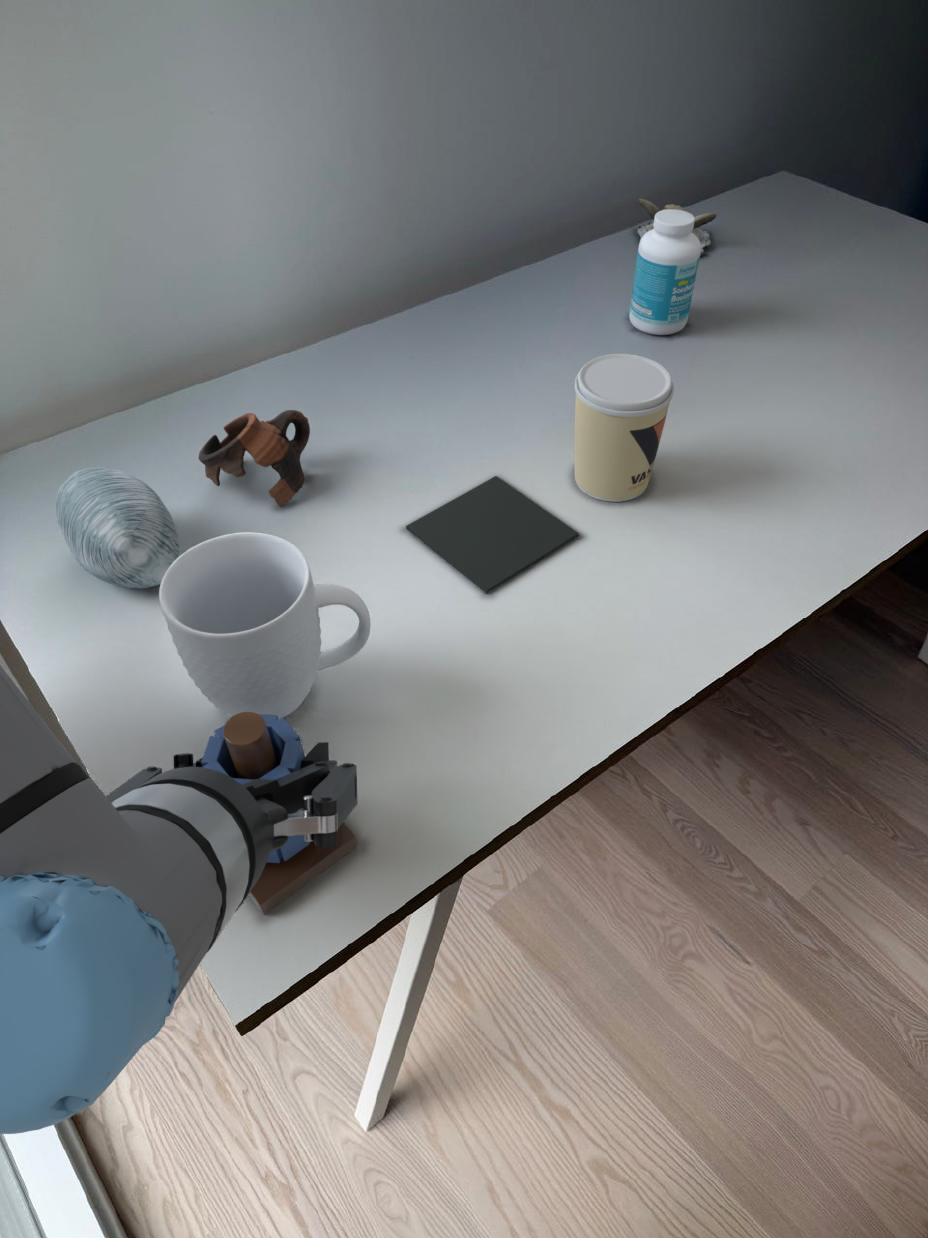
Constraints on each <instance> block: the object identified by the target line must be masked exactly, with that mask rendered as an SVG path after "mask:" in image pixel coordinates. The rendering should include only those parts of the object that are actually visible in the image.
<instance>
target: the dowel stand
mask: <svg viewBox="0 0 928 1238" xmlns="http://www.w3.org/2000/svg"><path fill="white" fill-rule="evenodd" d="M224 725H225V726H224ZM224 725H223V726H224V729H223V735H224V738H225V741H226V744H227V747H228V749H229V752H230V755H231V758H232V760H233V763H234V766H235V769H236V772H237V774H238V777H239V779H253V780H255V779H259V778H261V777H262V776H264V775H266V774H267V773H269V772H270V771H272V770H273V769H275V768H276V767H278V763H277V760H276V757H275V753H274V750H273V746H272V743H271V740H270V736H269V733H268V729H267V726H266V723H265V720H264V718H263V717H262V716H261V715H259V714H258V713H255V712H250V711H246V712H240V713H238V714H235V715H234V716H232V717H231V716H230V717H229V718H228V719H227V720H226V722H225V723H224ZM357 847H358V841H357V836H356V834H355V833H354V832H353V831H352V830H351V828H349V826H348V825H347V824H346V823H345V821H344V822H343V823H342V825H341V826H340V827H339V829H338V845H336V846H333V847H330V848H321V847H317V846H316V845H315V843H314V841H311V842H310V844H309V845H308V846H306V847H305V848H303V849H302V850H301V851H299V852H298V853H296V854H295V855H294V856H292V857H291V858H289V859H288V860H287V861H284V860H283V858H282V857H281V861H280V863H269V862H266V865H265V867H264V869H263V872H262V874H261V876H260V878H259V879H258V881H257V883H256V884H255V886H254V887H253V889H252V890H251V892H250V893H249V894H248V897H249V898H250V899H251V900H252V902H253V904H254V905H255V906H256V907H257V909H258V911H260V913H261V914H262V915H263V916H265V915H266V914H267V913H269V912H271V910H273V909H274V908H276V907H277V906H278V905H279V904H281V903H282V902H284V901H285V900H287V899H288V898H289V897H291V896H292V895H293V894H294V893H296V892H298V891H299V890H300V889H301V888H303V887H304V886H305V885H307V884H308V883H309V882H311V881H312V880H313V879H315V878H317V877H318V876H319V875H321V874H322V873H323V872H325V871H326V870H328V868H330V867H331V866H333V865H334V864H336V863H337V862H338V861H340V860H341V859H342V858H344V857H345V856H347V854H350V853H351V852H352V851H353V850H355V849H356V848H357Z"/></svg>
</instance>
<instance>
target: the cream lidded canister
mask: <svg viewBox="0 0 928 1238" xmlns="http://www.w3.org/2000/svg"><path fill="white" fill-rule="evenodd" d="M574 391H575V402H574V403H575V404H574V405H575V408H574V409H575V410H574V480H575V483H576V485H577V487H578V489H580V490H581V491H582V492H583V493H584V494H585V495H587V496H589V497H591V498H593V499H595V500H599V501H602V502H608V503H609V502H610V503H621V502H626V501H632V500H634V499H635V498H638V497H639V496H641V495H642V494H643V493H644V492H645V491H646V489H647V487H648V485H649V482H650V479H651V475H652V472H653V469H654V466H655V461H656V458H657V454H658V450H659V446H660V443H661V440H662V439H661V438H662V435H663V431H664V427H665V423H666V419H667V414H668V411H669V407H670V403H671V401H672V399H673V396H674V392H675V385H674V382H673V379H672V377H671V373H670V372H669V371H668V370H667V369H666V368H665V367H664V366H663V365H662V364H661V363H659V362H657V361H655V360H653V359H651V358H648V357H645V356H641V355H638V354H632V353H609V354H604V355H601V356H598V357H595V358H593V359H591V360H589V361H588V362H586V363H585V364H584V365H582V367H581V369H580V370H579V372H578V373H577V374H576V377H575V380H574Z"/></svg>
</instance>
